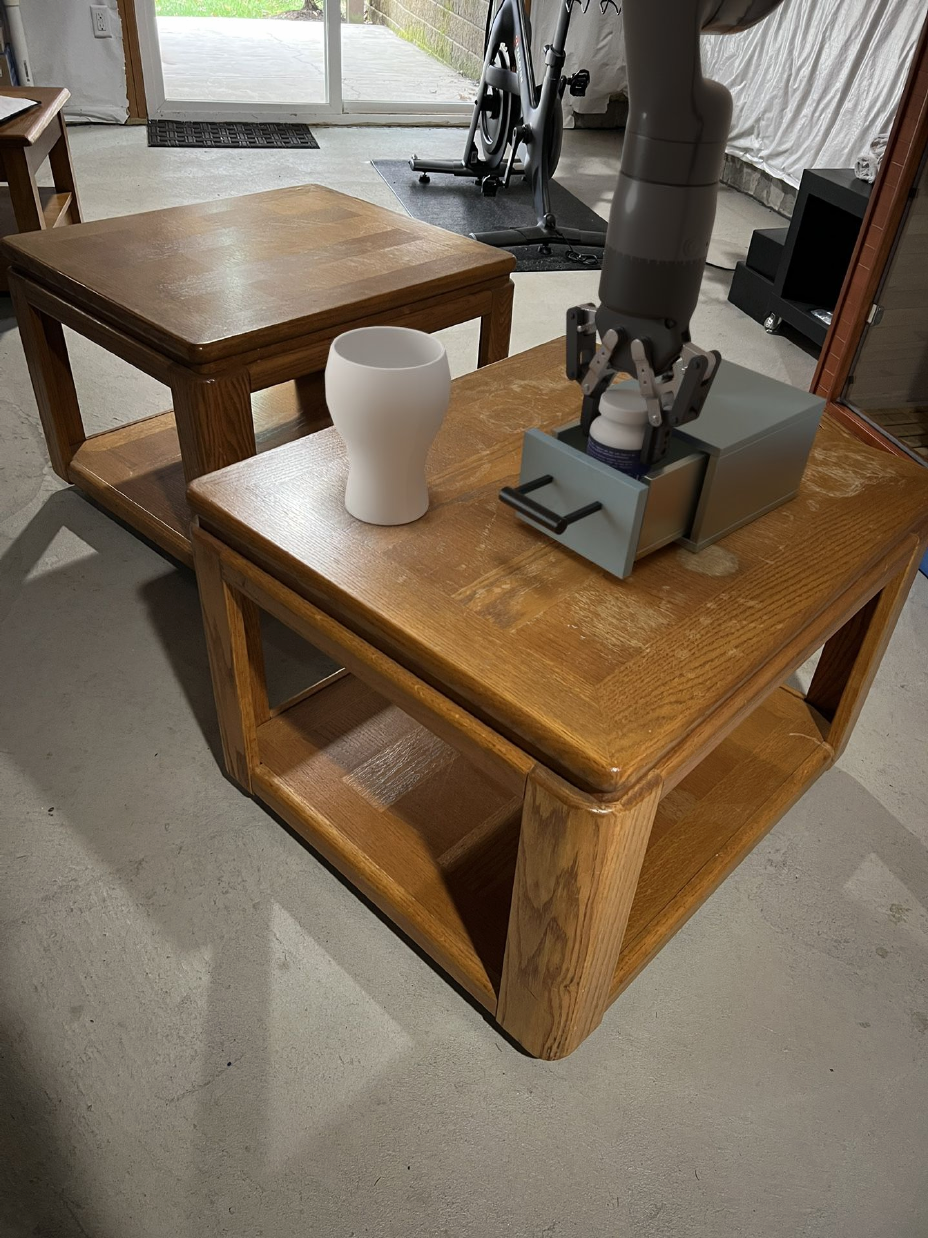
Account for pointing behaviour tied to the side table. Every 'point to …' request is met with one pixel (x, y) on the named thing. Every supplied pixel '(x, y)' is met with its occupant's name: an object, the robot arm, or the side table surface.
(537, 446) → the drawer
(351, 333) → the cup
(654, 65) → the robot arm
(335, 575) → the side table surface
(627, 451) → the pill bottle
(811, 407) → the drawer cabinet
